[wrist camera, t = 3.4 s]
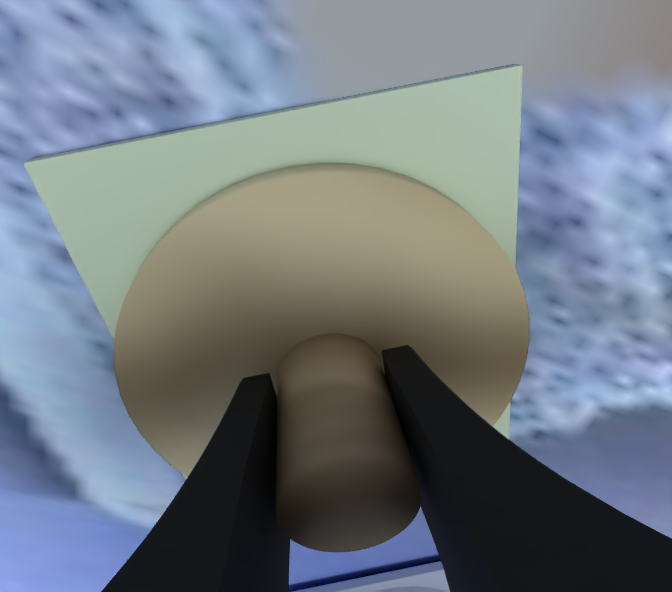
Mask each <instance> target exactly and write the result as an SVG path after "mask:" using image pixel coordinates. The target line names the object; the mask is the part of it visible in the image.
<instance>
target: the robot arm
mask: <svg viewBox="0 0 672 592" xmlns="http://www.w3.org/2000/svg"><path fill="white" fill-rule="evenodd" d="M382 356H383V363H384V370H385V376H386V379H387V383H388V386H389V389H390V392H391V396H392V399H393V402H394V405H395V408H396V411H397V414H398V417H399V421H400V424H401V427H402V430H403V434H404V437H405V440H406V443H407V446H408V450H409V453H410V456H411V459H412V463H413V466H414V469H415V472H416V476H417V479H418V482H419V485H420V489H421V494H422V500H421V508H422V511H423V513H424V516H425V518H426V521H427V524H428V526H429V529H430V532H431V534H432V537H433V540H434V542H435V545H436V548H437V551H438V554H439V557H440V560H441V561H439V562H434V563H429V564H424V565H419V566H415V567H410V568H405V569H400V570H395V571H390V572H385V573H380V574H375V575H371V576H366V577H361V578H356V579H351V580H346V581H341V582H336V583H331V584H327V585H322V586H317V587H312V588H307V589H302V590H297V591H292V592H672V539H671V538H669V537H667V536H665V535H663V534H661V533H659V532H657V531H656V530H654V529H652V528H650V527H648V526H646V525H644V524H642V523H640V522H639V521H637V520H635V519H633V518H631V517H629V516H627V515H625V514H624V513H622V512H620V511H618V510H617V509H615V508H613V507H612V506H610V505H608V504H607V503H605V502H603V501H602V500H600V499H598V498H596V497H595V496H593V495H591V494H590V493H588V492H586V491H585V490H583V489H581V488H580V487H578V486H576V485H575V484H573V483H571V482H569V481H568V480H566V479H565V478H563V477H562V476H560V475H559V474H557V473H556V472H554V471H553V470H551V469H550V468H548V467H547V466H545V465H544V464H542V463H541V462H539V461H538V460H536V459H535V458H534V457H532V456H531V455H529V454H528V453H527V452H525V451H524V450H522V449H521V448H520V447H518V446H517V445H515V444H514V443H513V442H512V441H510V440H509V439H508V438H506V437H505V436H504V435H502V434H501V433H500V432H499V431H497V430H496V429H495V428H494V427H493V426H491V425H490V424H489V423H488V422H487V421H485V420H484V419H483V418H482V417H480V416H479V415H478V414H477V413H476V412H475V411H474V410H472V409H471V408H470V407H469V406H468V405H467V404H466V403H465V402H464V401H463V400H462V399H460V398H459V397H458V396H457V395H456V394H455V393H454V392H453V391H452V390H451V389H450V388H449V387H448V386H447V385H446V384H445V383H444V382H443V381H442V380H441V379H440V378H439V377H438V376H437V375H436V374H435V373H434V372H433V371H432V370H431V369H430V368H429V367H428V366H427V364H426V363H425V362H424V361H423V360H422V359H421V358H420V356H419V355H418V354H417V353H416V352H415V350H414V349H413V348H412V347H410V346H409V345H405V346H400V347H395V348H390V349H385V350H382ZM276 446H277V396H276V392H275V389H274V386H273V383H272V380H271V376H270V373H265V374H260V375H255V376H250V377H245V378H243V379H242V380H241V382H240V383H239V385H238V387H237V390H236V392H235V394H234V396H233V398H232V400H231V402H230V404H229V406H228V408H227V410H226V412H225V413H224V415H223V417H222V419H221V421H220V423H219V425H218V427H217V429H216V430H215V432H214V434H213V436H212V437H211V439H210V441H209V443H208V445H207V446H206V448H205V450H204V452H203V453H202V455H201V457H200V458H199V460H198V462H197V463H196V465H195V466H194V468H193V470H192V471H191V473H190V474H189V476H188V478H187V479H186V481H185V482H184V484H183V485H182V487H181V489H180V490H179V492H178V493H177V495H176V496H175V498H174V499H173V501H172V502H171V503H170V505H169V506H168V508H167V509H166V511H165V512H164V513H163V515H162V516H161V518H160V519H159V520H158V522H157V523H156V524H155V526H154V527H153V528H152V530H151V531H150V533H149V534H148V535H147V537H146V538H145V539H144V540H143V542H142V543H141V544H140V545H139V547H138V548H137V549H136V550H135V552H134V553H133V554H132V555H131V557H130V558H129V559H128V560H127V562H126V563H125V564H124V565H123V566H122V568H121V569H120V570H119V571H118V572H117V574H116V575H115V576H114V577H113V578H112V580H111V581H110V582H109V583H108V584H107V586H106V587H105V588H104V589H103V590H102V591H101V592H289V553H290V538H289V537H288V536H287V535H286V534H285V533H284V532H283V531H282V529H281V528H280V526H279V524H278V522H277V518H276Z"/></svg>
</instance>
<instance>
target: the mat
mask: <svg viewBox="0 0 672 592" xmlns="http://www.w3.org/2000/svg"><path fill="white" fill-rule="evenodd" d="M522 68H523V65H518V64H512V65H506V66H501V67H496V68H491V69H486V70H481V71H476V72H471V73H466V74H460V75H455V76H450V77H445V78H440V79H435V80H430V81H425V82H420V83H415V84H409V85H404V86H399V87H394V88H389V89H384V90H379V91H374V92H369V93H364V94H358V95H353V96H348V97H343V98H338V99H333V100H328V101H323V102H318V103H313V104H308V105H302V106H297V107H292V108H287V109H282V110H277V111H272V112H267V113H262V114H257V115H252V116H246V117H241V118H236V119H231V120H226V121H221V122H216V123H211V124H206V125H201V126H195V127H190V128H185V129H180V130H175V131H170V132H165V133H160V134H155V135H150V136H145V137H139V138H134V139H129V140H124V141H119V142H114V143H109V144H104V145H99V146H94V147H89V148H83V149H78V150H73V151H68V152H63V153H58V154H53V155H48V156H43V157H38V158H33V159H30V160H28V161H26V162H24V163H23V164H24V166H25V168H26V170H27V172H28V174H29V176H30V178H31V180H32V182H33V184H34V186H35V188H36V190H37V192H38V194H39V196H40V197H41V199H42V201H43V203H44V205H45V207H46V209H47V211H48V213H49V215H50V217H51V219H52V221H53V223H54V225H55V227H56V229H57V231H58V233H59V235H60V236H61V238H62V240H63V242H64V244H65V246H66V248H67V250H68V252H69V254H70V256H71V258H72V260H73V262H74V264H75V266H76V268H77V270H78V272H79V274H80V275H81V277H82V279H83V281H84V283H85V285H86V287H87V289H88V291H89V293H90V295H91V297H92V299H93V301H94V303H95V305H96V307H97V309H98V311H99V313H100V314H101V316H102V318H103V320H104V322H105V324H106V326H107V328H108V330H109V332H110V334H111V336H112V338H113V340H114V341H115V331H116V325H117V321H118V318H119V314H120V311H121V307H122V304H123V301H124V299H125V297H126V295H127V293H128V291H129V288H130V286H131V284H132V282H133V280H134V278H135V276H136V275H137V273H138V271H139V270H140V268H141V267H142V265H143V263H144V262H145V260H146V259H147V257H148V256H149V254H150V253H151V252H152V250H153V249H154V247H155V246H156V244H157V243H158V241H159V240H160V239H161V238H162V237H163V236H164V235H165V234H166V233H167V232H168V231H169V230H170V228H171V227H172V226H173V225H174V224H175V223H176V222H177V221H178V220H179V219H180V218H182V217H183V216H184V215H186V214H187V213H188V212H189V211H191V210H192V209H193V208H195V207H196V206H197V205H198V204H200V203H201V202H202V201H204V200H206V199H207V198H209V197H211V196H213V195H214V194H216V193H218V192H220V191H221V190H223V189H225V188H227V187H228V186H231V185H233V184H236V183H238V182H241V181H243V180H246V179H248V178H251V177H253V176H256V175H259V174H263V173H267V172H271V171H274V170H278V169H282V168H286V167H293V166H301V165H310V164H318V163H329V164H355V165H362V166H368V167H375V168H381V169H385V170H388V171H391V172H395V173H398V174H401V175H405V176H408V177H411V178H413V179H415V180H417V181H420V182H422V183H424V184H426V185H428V186H430V187H433V188H435V189H436V190H438V191H439V192H441V193H442V194H444V195H446V196H447V197H449V198H450V199H452V200H453V201H455V202H456V203H458V204H459V205H460V206H461V207H462V208H463V209H464V210H465V211H467V212H468V213H469V214H470V215H471V216H472V217H473V218H474V219H475V220H477V221H478V222H479V223H480V224H481V225H482V226H483V227H484V228H485V229H486V230H487V231H488V232H489V233H490V234H491V235H492V236H493V237H494V239H495V240H496V241H497V242H498V244H499V245H500V246H501V247H502V249H503V250H504V251H505V252H506V254H507V255H508V257H509V259H510V261H511V263H512V264H513V266H514V268H515V261H516V234H517V206H518V178H519V151H520V123H521V95H522ZM493 427H494V428H495V429H496V430H497V431H499V432H500V433H501V434H502V435H504V436H505V437H506V438H508V439H509V428H510V402H509V404H508V406H507V407H506V409H505V410H504V412H503V414H502V415H501V417H500V418H499V419H498V421H497V422H496V423H495V424H494V426H493ZM182 474H183V473H182ZM183 476H184V478H185V480H186V479H187V478H188V477H187V476H186V475H184V474H183Z"/></svg>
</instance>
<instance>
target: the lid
mask: <svg viewBox="0 0 672 592" xmlns="http://www.w3.org/2000/svg"><path fill="white" fill-rule="evenodd" d="M405 345H409V346H410V347H412V348H413V349H414V350H415V352H416V353H417V354H418V355H419V356H420V358H421V359H422V360H423V361H424V362H425V363H426V364H427V366H428V367H429V368H430V369H431V370H432V371H433V372H434V373H435V374H436V375H437V376H438V377H439V378H440V379H441V380H442V381H443V382H444V383H445V384H446V385H447V386H448V387H449V388H450V389H451V390H452V391H453V392H454V393H455V394H456V395H457V396H458V397H459V398H460V399H462V400H463V401H464V402H465V403H466V404H467V405H468V406H469V407H470V408H471V409H472V410H474V411H475V412H476V413H477V414H478V415H479V416H480V417H482V418H483V419H484V420H485V421H487V422H488V423H489V424H490V425H491V426H494V424H495V423H496V422H497V421H498V419H499V418H500V417H501V415H502V414H503V412H504V410H505V409H506V407H507V406H508V404H509V402H510V401H511V399H512V397H513V395H514V393H515V391H516V388H517V386H518V384H519V382H520V379H521V376H522V373H523V370H524V366H525V363H526V359H527V353H528V346H529V313H528V307H527V301H526V296H525V293H524V290H523V287H522V284H521V281H520V279H519V276H518V273H517V272H516V270H515V268H514V266H513V264H512V263H511V261H510V259H509V257H508V255H507V254H506V252H505V251H504V250H503V249H502V247H501V246H500V245H499V244H498V242H497V241H496V240H495V239H494V237H493V236H492V235H491V234H490V233H489V232H488V231H487V230H486V229H485V228H484V227H483V226H482V225H481V224H480V223H479V222H478V221H477V220H475V219H474V218H473V217H472V216H471V215H470V214H469V213H468V212H467V211H465V210H464V209H463V208H462V207H461V206H460V205H459V204H458V203H456V202H455V201H453V200H452V199H450V198H449V197H447V196H446V195H444V194H442V193H441V192H439V191H438V190H436V189H435V188H433V187H430V186H428V185H426V184H424V183H422V182H420V181H417V180H415V179H413V178H411V177H408V176H405V175H401V174H398V173H395V172H391V171H388V170H385V169H381V168H375V167H368V166H362V165H355V164H329V163H318V164H310V165H301V166H293V167H286V168H282V169H278V170H274V171H271V172H267V173H263V174H259V175H256V176H253V177H251V178H248V179H246V180H243V181H241V182H238V183H236V184H233V185H231V186H228V187H227V188H225V189H223V190H221V191H220V192H218V193H216V194H214V195H213V196H211V197H209V198H207V199H206V200H204V201H202V202H201V203H200V204H198V205H197V206H196V207H195V208H193V209H192V210H191V211H189V212H188V213H187V214H186V215H184V216H183V217H182V218H180V219H179V220H178V221H177V222H176V223H175V224H174V225H173V226H172V227H171V228H170V230H169V231H168V232H167V233H166V234H165V235H164V236H163V237H162V238H161V239H160V240H159V241H158V243H157V244H156V246H155V247H154V249H153V250H152V252H151V253H150V254H149V256H148V257H147V259H146V260H145V262H144V263H143V265H142V267H141V268H140V270H139V271H138V273H137V275H136V276H135V278H134V280H133V282H132V284H131V286H130V288H129V291H128V293H127V295H126V297H125V299H124V301H123V304H122V307H121V311H120V314H119V318H118V321H117V325H116V331H115V341H114V365H115V375H116V379H117V383H118V387H119V391H120V395H121V398H122V400H123V402H124V405H125V407H126V409H127V412H128V414H129V416H130V418H131V419H132V421H133V423H134V424H135V426H136V427H137V429H138V430H139V432H140V434H141V435H142V436H143V437H144V438H145V440H146V441H147V442H148V443H149V444H150V446H151V447H152V448H153V449H154V450H155V451H156V452H157V453H158V454H159V455H160V456H161V457H163V458H164V459H165V460H166V461H167V462H168V463H169V464H170V465H172V466H173V467H174V468H176V469H177V470H179V471H180V472H182V473H183V474H184V475H186V476H187V477H188V476H189V474H190V473H191V471H192V470H193V468H194V466H195V465H196V463H197V462H198V460H199V458H200V457H201V455H202V453H203V452H204V450H205V448H206V446H207V445H208V443H209V441H210V439H211V437H212V436H213V434H214V432H215V430H216V429H217V427H218V425H219V423H220V421H221V419H222V417H223V415H224V413H225V412H226V410H227V408H228V406H229V404H230V402H231V400H232V398H233V396H234V394H235V392H236V390H237V387H238V385H239V383H240V382H241V380H242V379H243V378H245V377H250V376H255V375H260V374H265V373H270V376H271V380H272V383H273V386H274V389H275V392H276V396H277V446H276V518H277V522H278V524H279V526H280V528H281V529H282V531H283V532H284V533H285V534H286V535H287V536H288V537H289V538H290V539H292V540H293V541H294V542H296V543H298V544H300V545H302V546H305V547H307V548H311V549H314V550H319V551H325V552H350V551H356V550H362V549H366V548H369V547H372V546H376V545H378V544H381V543H383V542H385V541H387V540H389V539H391V538H393V537H394V536H396V535H397V534H399V533H400V532H401V531H403V530H404V529H405V528H406V527H407V526H408V525H409V524H410V523H411V522H412V521H413V519H414V518H415V516H416V515H417V513H418V511H419V508H420V505H421V500H422V494H421V489H420V485H419V482H418V479H417V476H416V472H415V469H414V466H413V463H412V459H411V456H410V453H409V450H408V446H407V443H406V440H405V437H404V434H403V430H402V427H401V424H400V421H399V417H398V414H397V411H396V408H395V405H394V402H393V399H392V396H391V392H390V389H389V386H388V383H387V379H386V376H385V370H384V363H383V356H382V350H385V349H390V348H395V347H400V346H405Z"/></svg>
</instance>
